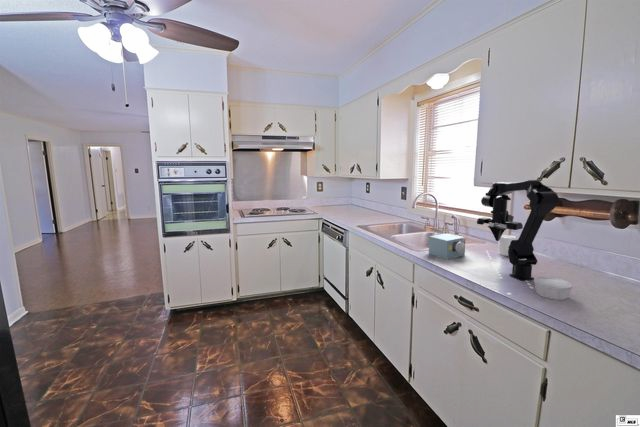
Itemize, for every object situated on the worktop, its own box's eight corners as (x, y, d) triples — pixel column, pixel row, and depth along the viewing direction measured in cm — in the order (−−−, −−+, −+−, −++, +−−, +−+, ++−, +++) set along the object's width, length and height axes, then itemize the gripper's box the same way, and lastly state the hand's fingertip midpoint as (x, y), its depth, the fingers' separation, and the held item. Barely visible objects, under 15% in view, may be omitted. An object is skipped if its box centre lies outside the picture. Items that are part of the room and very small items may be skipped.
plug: (464, 252, 154) (465, 241, 153) (456, 254, 151) (457, 242, 150) (443, 246, 166) (443, 236, 166) (435, 247, 164) (435, 237, 163)
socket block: (465, 255, 159) (466, 237, 157) (446, 259, 153) (447, 240, 151) (446, 250, 170) (447, 233, 168) (428, 253, 164) (429, 236, 162)
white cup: (513, 253, 160) (514, 235, 159) (515, 257, 153) (516, 238, 152) (496, 251, 164) (497, 234, 162) (497, 255, 157) (498, 237, 156)
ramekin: (550, 287, 115) (552, 275, 114) (579, 300, 104) (581, 286, 103) (525, 290, 113) (526, 277, 113) (551, 303, 102) (553, 289, 102)
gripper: (530, 209, 134) (527, 242, 136) (490, 205, 150) (488, 235, 153) (516, 211, 129) (514, 246, 131) (477, 207, 145) (475, 238, 147)
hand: (497, 240), depth 141 cm, fingers closed
